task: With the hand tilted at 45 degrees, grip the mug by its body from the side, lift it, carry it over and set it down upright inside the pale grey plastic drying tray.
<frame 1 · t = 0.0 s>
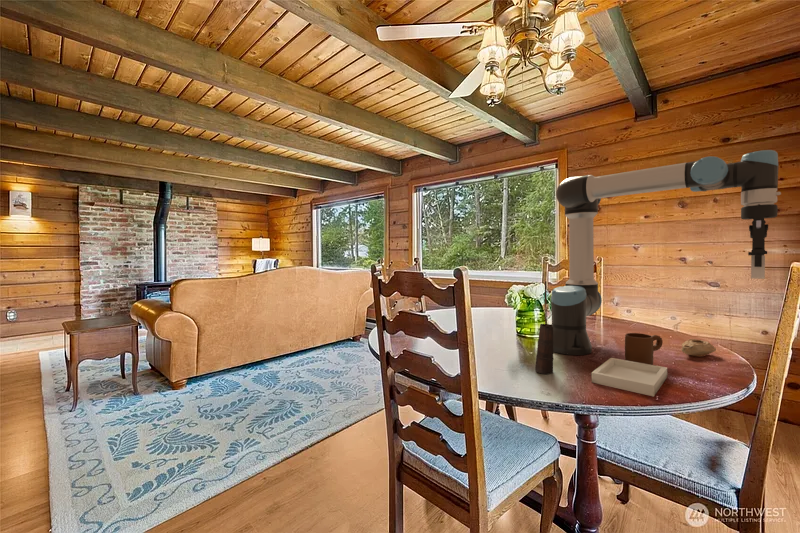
hand: (757, 277, 104), 28 cm above the table, tool pointing down, fingers open, 13 cm apart
mug: (645, 364, 113), on the table
butter churn: (545, 373, 107), on the table
pottery oil lamp: (693, 356, 120), on the table
drying tray: (629, 379, 100), on the table
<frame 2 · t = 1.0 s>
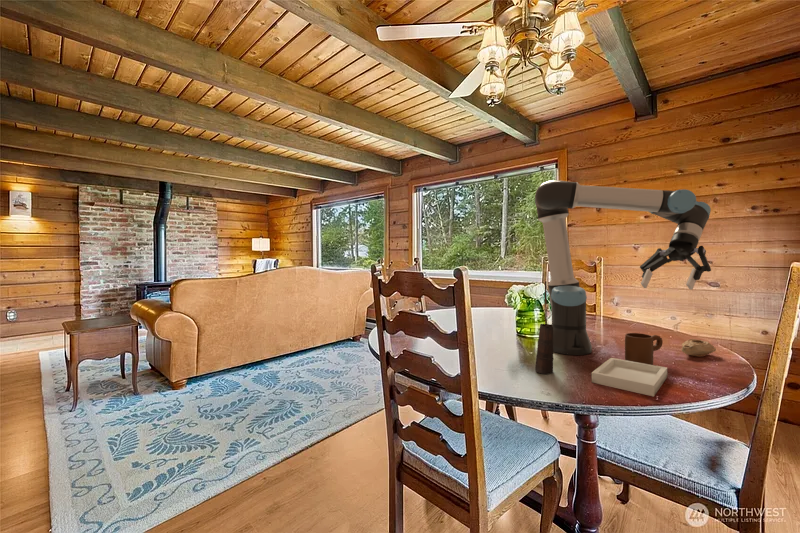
hand: (665, 286, 116), 24 cm above the table, tool tilted 40°, fingers open, 13 cm apart
nothing on the table moved.
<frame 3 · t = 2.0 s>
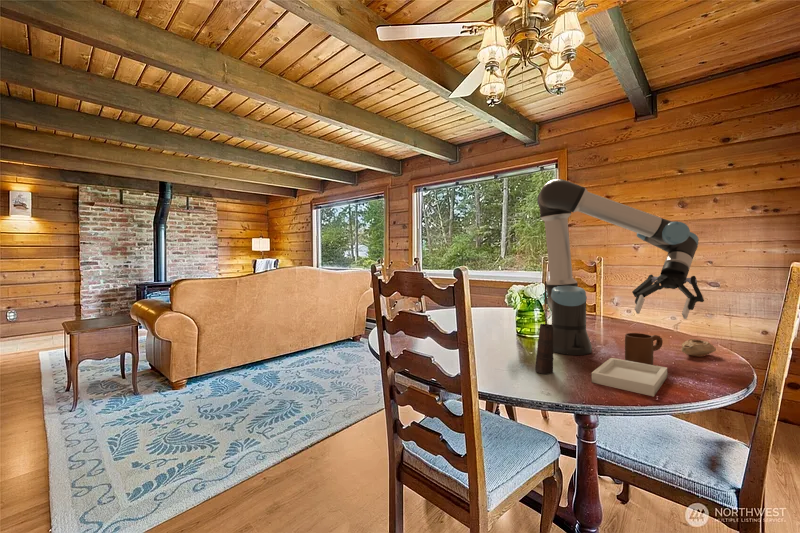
hand: (659, 313, 118), 15 cm above the table, tool tilted 45°, fingers open, 13 cm apart
nothing on the table moved.
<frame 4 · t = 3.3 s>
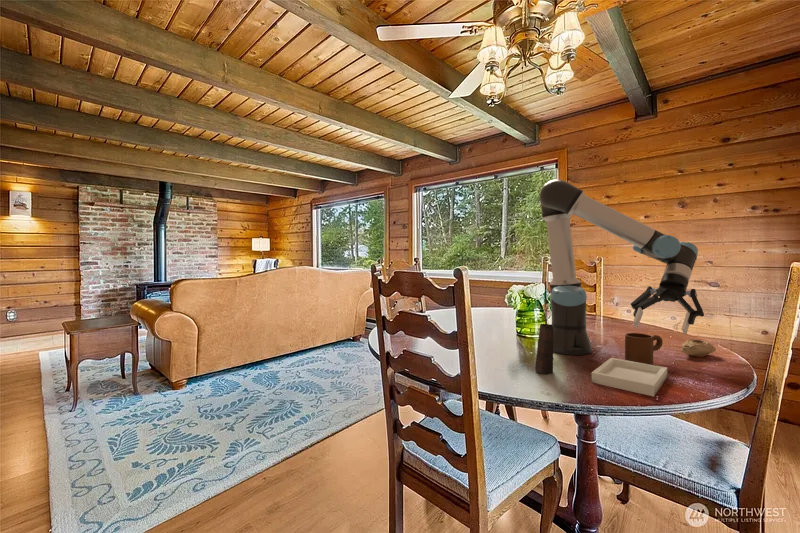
hand: (658, 328, 115), 11 cm above the table, tool tilted 45°, fingers open, 13 cm apart
nothing on the table moved.
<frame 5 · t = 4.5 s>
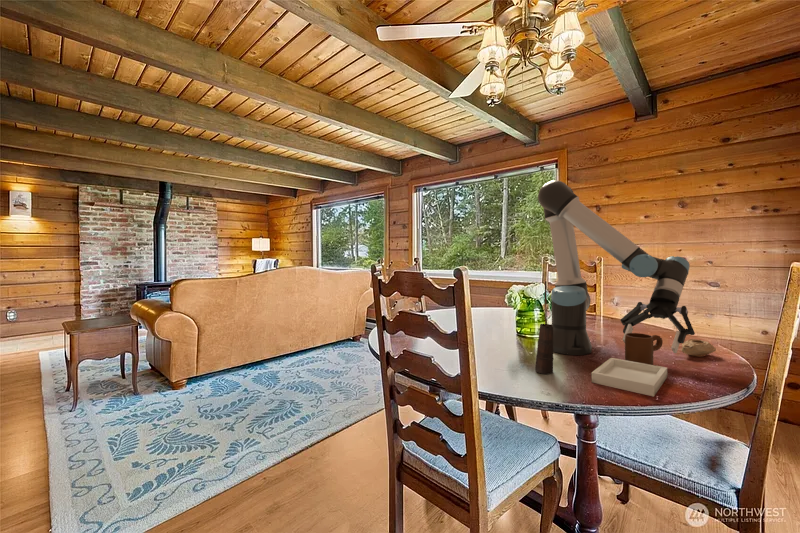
hand: (648, 346, 112), 6 cm above the table, tool tilted 45°, fingers open, 13 cm apart
nothing on the table moved.
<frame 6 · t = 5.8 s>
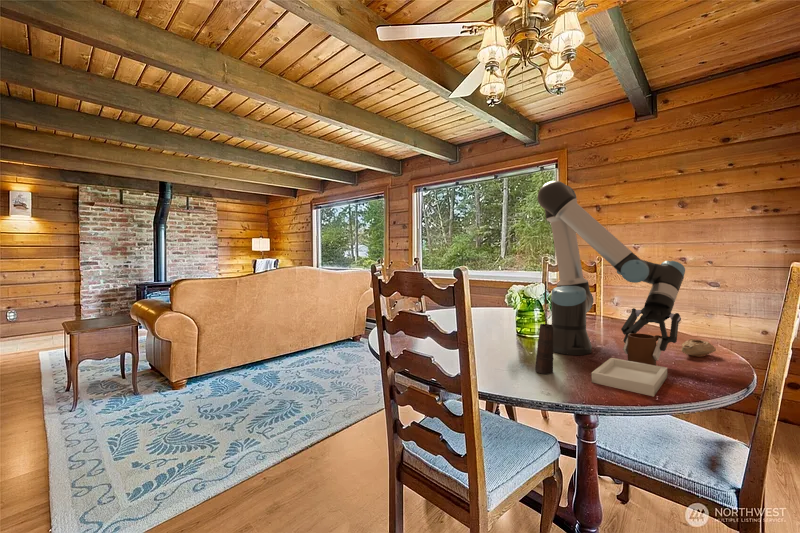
hand: (639, 354, 111), 4 cm above the table, tool tilted 45°, fingers closed on mug, 8 cm apart
mug: (647, 364, 112), on the table, touching gripper
everything else where it was.
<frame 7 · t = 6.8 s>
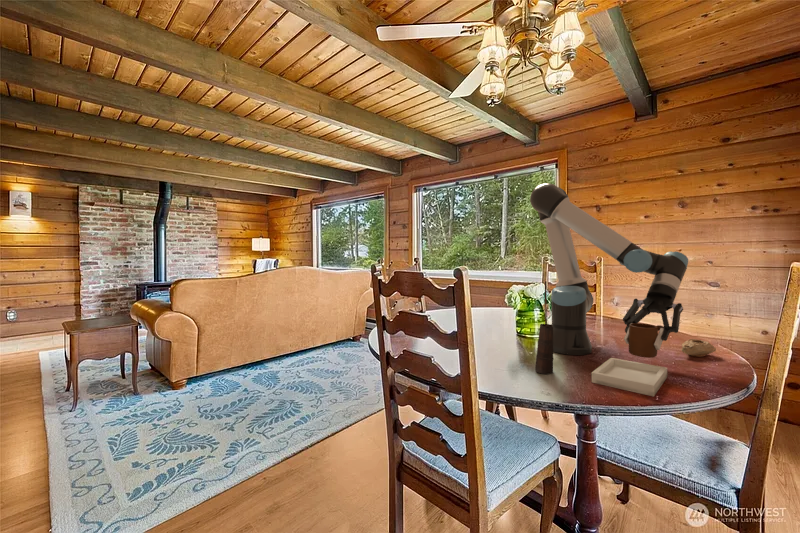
hand: (641, 344, 110), 7 cm above the table, tool tilted 45°, fingers closed on mug, 8 cm apart
mug: (648, 354, 112), point 3 cm above the table, touching gripper
everything else where it was.
when the fingers open (6 cm above the table, at t = 11.0 s): mug drops 1 cm, resting on drying tray.
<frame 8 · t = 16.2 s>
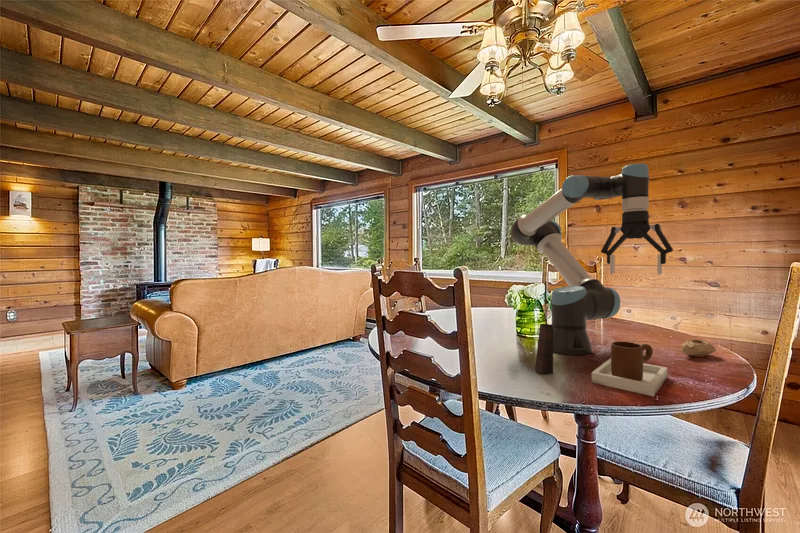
hand: (635, 273, 119), 29 cm above the table, tool pointing down, fingers open, 13 cm apart
mug: (633, 377, 99), point 1 cm above the table, touching drying tray
everything else where it was.
at the end: mug inside the target area on the drying tray (0.9 cm from its centre), point 0.8 cm above the drying tray's base; mug tilted 0°; the gripper is holding nothing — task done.
